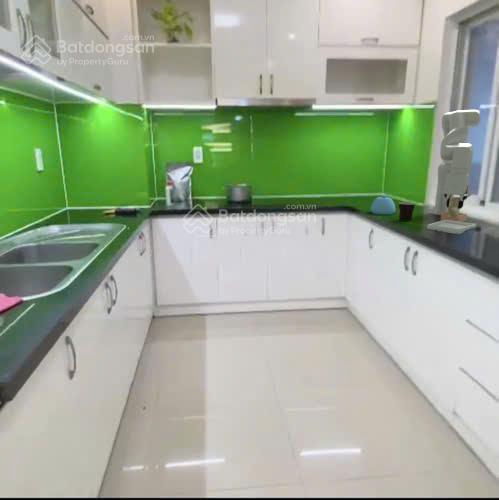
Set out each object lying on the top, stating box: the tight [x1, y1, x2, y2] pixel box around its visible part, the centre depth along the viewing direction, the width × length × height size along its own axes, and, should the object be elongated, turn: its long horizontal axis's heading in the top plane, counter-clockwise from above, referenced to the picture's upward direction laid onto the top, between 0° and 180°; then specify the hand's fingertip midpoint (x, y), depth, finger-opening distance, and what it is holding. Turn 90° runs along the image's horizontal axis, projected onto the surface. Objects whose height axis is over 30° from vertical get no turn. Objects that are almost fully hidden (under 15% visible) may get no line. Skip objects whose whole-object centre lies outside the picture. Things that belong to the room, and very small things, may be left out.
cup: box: [440, 212, 468, 222], centre depth 215 cm, size 10×10×5 cm
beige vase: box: [448, 196, 461, 218], centre depth 197 cm, size 5×5×10 cm
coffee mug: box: [398, 201, 416, 223], centre depth 219 cm, size 12×9×10 cm
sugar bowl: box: [370, 194, 396, 216], centre depth 245 cm, size 15×15×12 cm
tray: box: [427, 220, 477, 235], centre depth 199 cm, size 16×20×2 cm
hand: (454, 207), depth 197 cm, fingers closed on beige vase, 5 cm apart
